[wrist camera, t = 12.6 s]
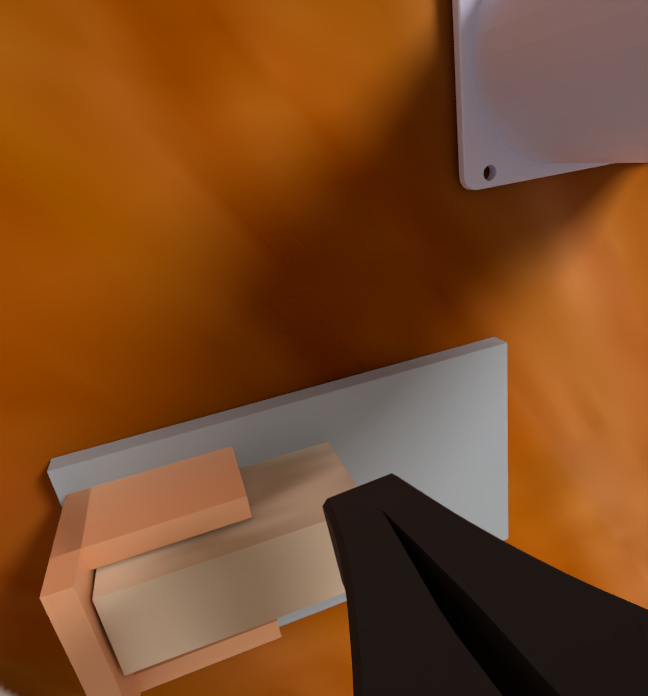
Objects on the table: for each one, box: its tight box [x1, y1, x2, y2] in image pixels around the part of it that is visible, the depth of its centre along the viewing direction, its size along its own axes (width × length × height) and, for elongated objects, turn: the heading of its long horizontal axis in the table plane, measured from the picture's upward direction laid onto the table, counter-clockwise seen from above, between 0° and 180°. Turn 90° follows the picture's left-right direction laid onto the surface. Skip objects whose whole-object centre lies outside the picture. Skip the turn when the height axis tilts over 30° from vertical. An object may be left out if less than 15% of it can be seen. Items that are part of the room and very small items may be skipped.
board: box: [47, 337, 508, 627], centre depth 20 cm, size 17×10×1 cm, turn 100°
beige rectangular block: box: [92, 442, 357, 676], centre depth 17 cm, size 8×3×4 cm, turn 99°
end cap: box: [40, 446, 282, 696], centre depth 16 cm, size 6×6×4 cm
